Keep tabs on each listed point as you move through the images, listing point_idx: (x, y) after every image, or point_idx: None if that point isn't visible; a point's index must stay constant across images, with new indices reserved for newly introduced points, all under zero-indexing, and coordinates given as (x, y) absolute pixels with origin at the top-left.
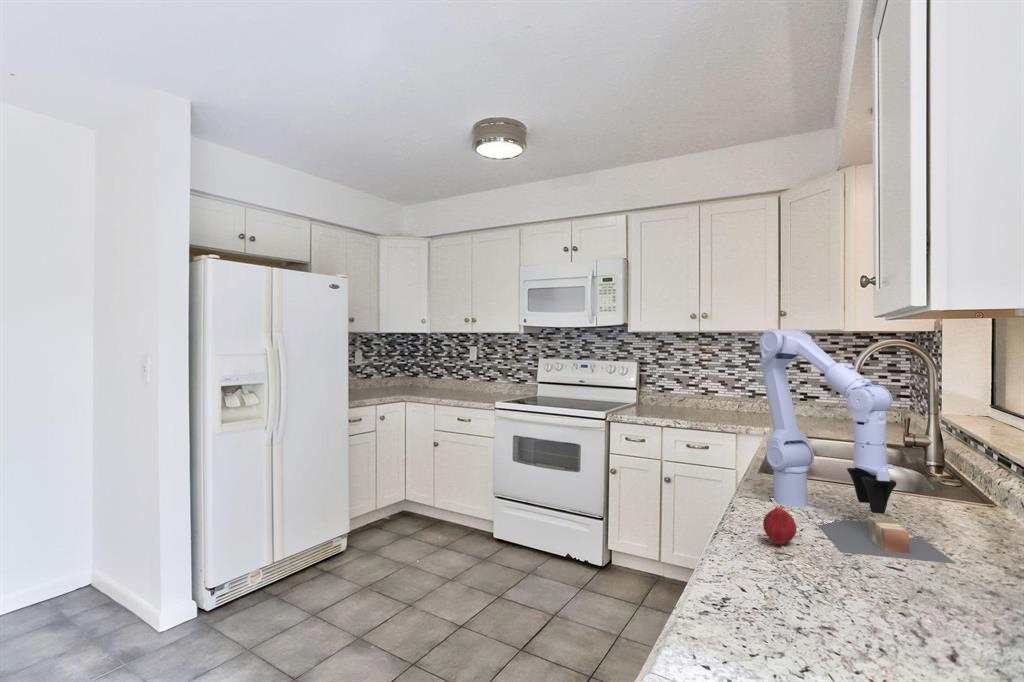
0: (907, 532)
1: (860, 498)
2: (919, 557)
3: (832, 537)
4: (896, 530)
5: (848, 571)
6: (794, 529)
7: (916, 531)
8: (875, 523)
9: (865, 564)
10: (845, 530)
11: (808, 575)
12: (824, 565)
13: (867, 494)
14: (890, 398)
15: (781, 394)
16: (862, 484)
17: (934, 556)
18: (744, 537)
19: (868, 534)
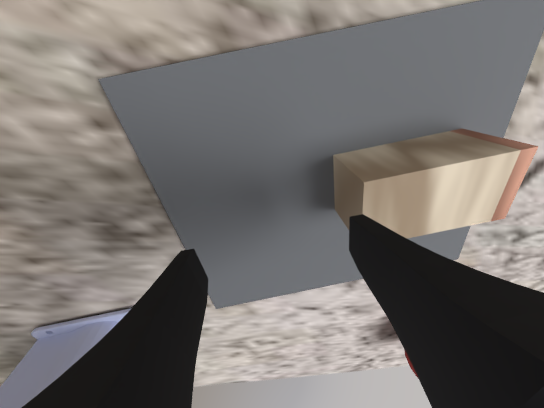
0: (531, 150)
1: (204, 291)
2: (495, 106)
3: None
4: (515, 184)
5: (532, 246)
6: None
7: (139, 30)
8: (427, 232)
9: (503, 221)
10: (298, 252)
11: (538, 286)
12: (502, 273)
13: (186, 290)
14: None
15: None
16: (178, 364)
17: (487, 52)
18: (383, 352)
19: (311, 208)
